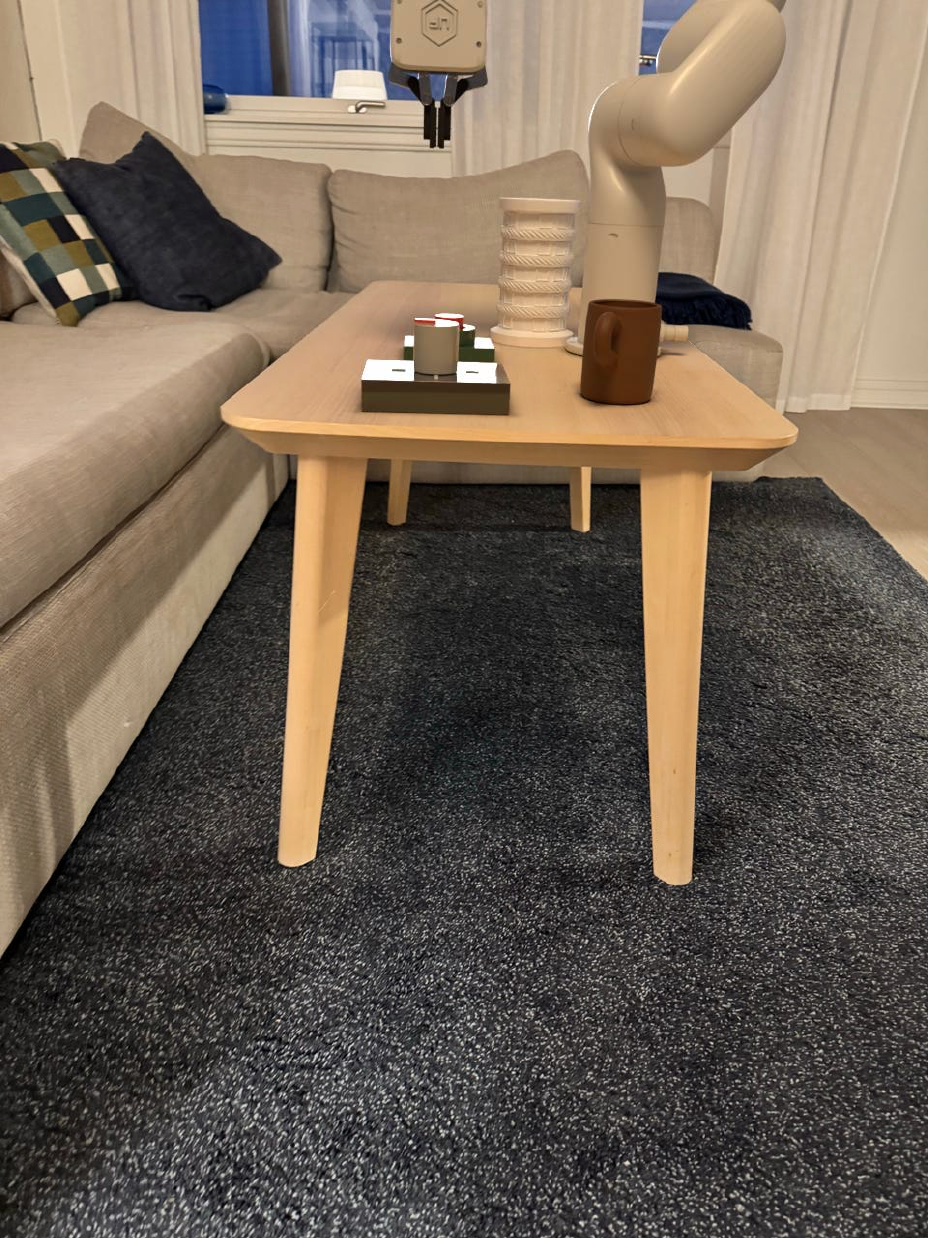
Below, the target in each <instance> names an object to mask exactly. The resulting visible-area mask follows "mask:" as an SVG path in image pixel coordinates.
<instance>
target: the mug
mask: <svg viewBox="0 0 928 1238" xmlns="http://www.w3.org/2000/svg"><path fill="white" fill-rule="evenodd" d="M662 313H663V307H662V305H661V304H660V303H656V302H655V303H652V302H647V301H639V300H626V299H600V300H592V301H590V302H589V303H588V310H587V316H586V322H585V332H584V343H583V355H581V371H580V381H579V383H580V385H579V389H580V393H581V395H582V397H583V398H585V399H587V400H590V401H593V402H598V403H603V404H608V405H609V404H610V405H611V404H612V405H637V404H642V403H646V402H647V401H649V400H650V399H651V397H652V394H653V391H654V384H655V376H656V370H657V363H658V356H657V355H658V347H659V345H660V342H659V339H660V331H661V323H662V315H663V314H662Z"/></svg>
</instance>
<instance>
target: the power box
mask: <svg viewBox="0 0 928 1238" xmlns="http://www.w3.org/2000/svg"><path fill="white" fill-rule="evenodd" d="M413 345H414V335H404V343H403V361H413ZM495 351H496V348H495V346H494V344H493V341H492V340H491V339H490V337H476V327H475V326H473V325H469V324H464V328H463V329H459V353H458V362H459V363H495V355H496V352H495Z"/></svg>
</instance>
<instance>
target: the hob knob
mask: <svg viewBox="0 0 928 1238" xmlns="http://www.w3.org/2000/svg"><path fill="white" fill-rule="evenodd" d="M413 336H414V345H413V360H412V361H413V370H414V371H416V372H418V373H423V374H432V375H446V374H453V373H456V372H457V371H458V353H459V323H457V322H453V321H447V320H436V319H435V318H414V319H413Z"/></svg>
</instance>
